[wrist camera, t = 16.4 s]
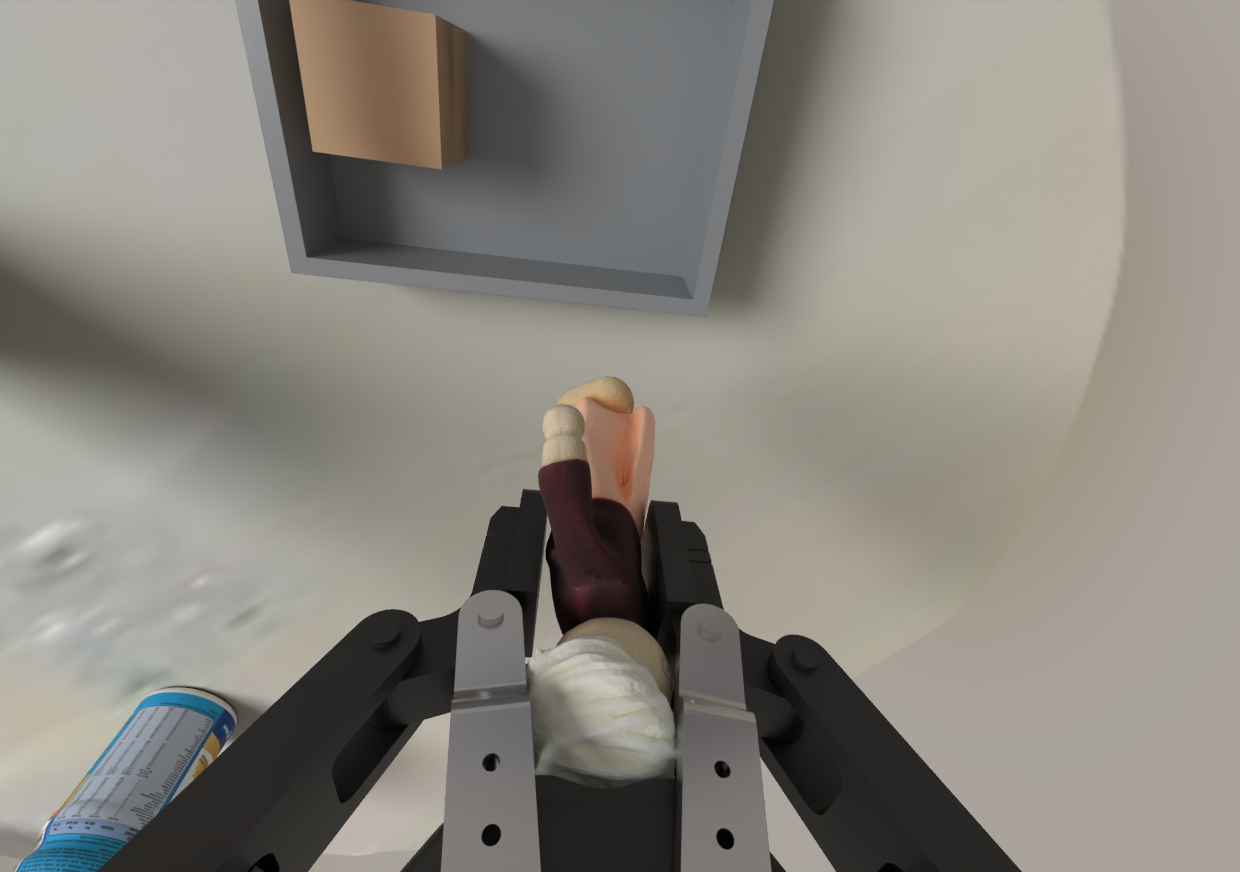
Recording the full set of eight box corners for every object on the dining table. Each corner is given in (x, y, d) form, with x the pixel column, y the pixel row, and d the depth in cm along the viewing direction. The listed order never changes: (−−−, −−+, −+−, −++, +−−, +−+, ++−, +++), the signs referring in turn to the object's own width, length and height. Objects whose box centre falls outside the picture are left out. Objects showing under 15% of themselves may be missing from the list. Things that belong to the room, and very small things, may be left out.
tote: (336, 247, 29) (291, 273, 24) (271, -168, 20) (185, -239, 16) (691, 287, 30) (706, 317, 26) (762, -80, 22) (800, -122, 18)
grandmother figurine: (683, 481, 21) (772, 877, 10) (593, 510, 22) (588, 913, 11) (610, 304, 17) (632, 645, 6) (504, 346, 18) (358, 721, 7)
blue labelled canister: (202, 675, 48) (-14, 988, 31) (260, 724, 52) (98, 1021, 35) (122, 692, 49) (-130, 1005, 32) (185, 739, 53) (-7, 1035, 36)
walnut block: (360, 143, 25) (312, 151, 21) (345, 10, 23) (287, -11, 18) (467, 158, 26) (441, 169, 22) (465, 30, 23) (435, 14, 19)
